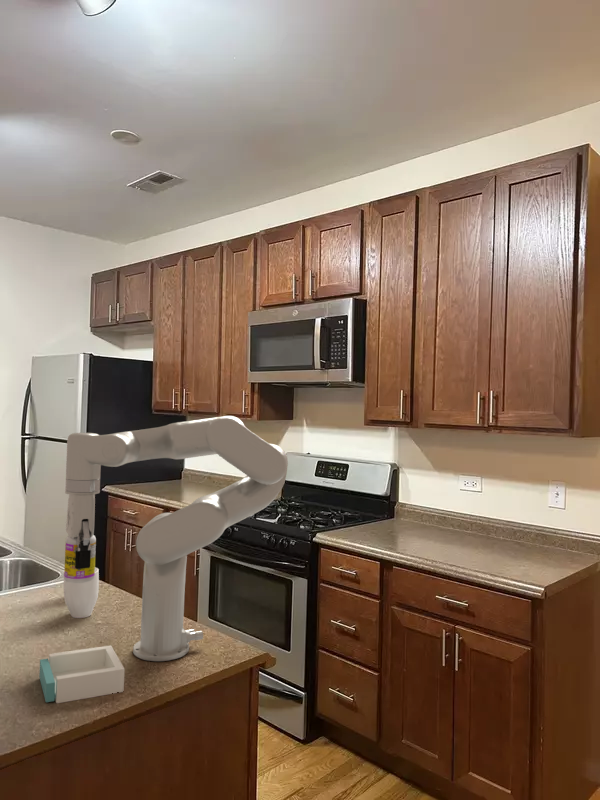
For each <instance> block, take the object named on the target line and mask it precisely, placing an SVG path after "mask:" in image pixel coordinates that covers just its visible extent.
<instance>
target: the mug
mask: <svg viewBox="0 0 600 800" xmlns="http://www.w3.org/2000/svg"><path fill="white" fill-rule="evenodd" d="M99 570H100V569H99V568H98V567H95V575H94V578H93V579H92V580H91V581H88V582H84V583H70V582H67V581H65V579H64V578H63V598H64V602H65V605H66V606H67V610H68V612H69V614H70V616H71V617H72V618H75V619H82V618H83V619H84V618H87V617H90V616H91V615H92V613H93V610H94V608H95V606H96V603H97V601H98V597H99V589H100V588H99V585H100V583H99V581H100V580H99V579H100V577H99V576H100V575H99V574H100V573H99Z"/></svg>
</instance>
